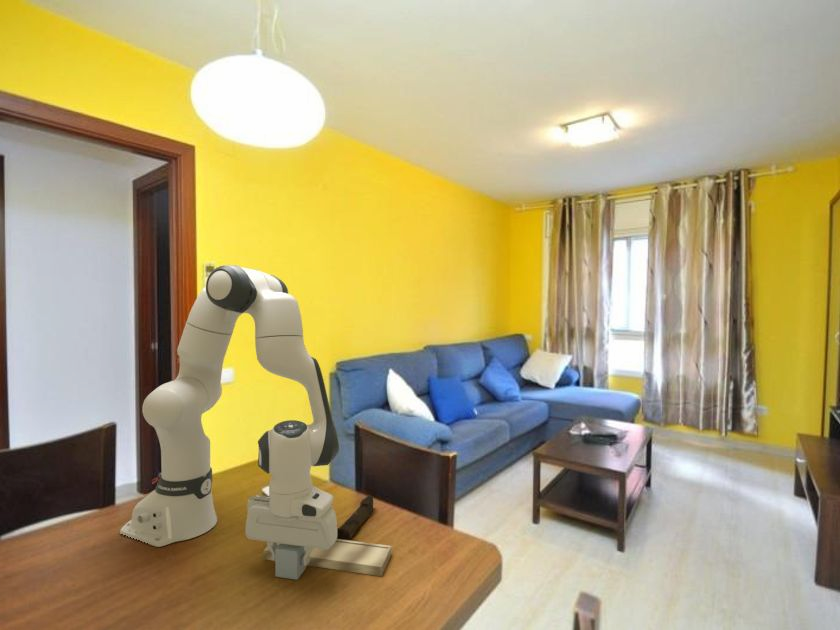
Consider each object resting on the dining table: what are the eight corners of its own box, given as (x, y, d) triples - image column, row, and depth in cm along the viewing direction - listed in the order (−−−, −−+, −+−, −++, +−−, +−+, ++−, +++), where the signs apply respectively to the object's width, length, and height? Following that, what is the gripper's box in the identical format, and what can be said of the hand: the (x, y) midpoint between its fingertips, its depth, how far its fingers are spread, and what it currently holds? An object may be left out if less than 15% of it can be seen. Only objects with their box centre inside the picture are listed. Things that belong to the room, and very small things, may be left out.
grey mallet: (275, 576, 89) (275, 548, 89) (302, 544, 101) (302, 520, 101) (297, 579, 88) (297, 551, 88) (321, 547, 100) (321, 522, 100)
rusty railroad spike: (348, 546, 101) (348, 527, 101) (333, 543, 102) (334, 524, 102) (381, 510, 119) (381, 494, 119) (368, 508, 120) (369, 492, 120)
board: (263, 558, 95) (263, 549, 95) (281, 539, 103) (281, 531, 103) (381, 576, 90) (381, 566, 90) (391, 554, 98) (391, 545, 98)
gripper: (238, 500, 89) (239, 564, 90) (328, 510, 85) (328, 577, 85) (256, 487, 95) (256, 547, 96) (340, 496, 91) (340, 559, 92)
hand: (291, 561), depth 91 cm, fingers closed on grey mallet, 5 cm apart
